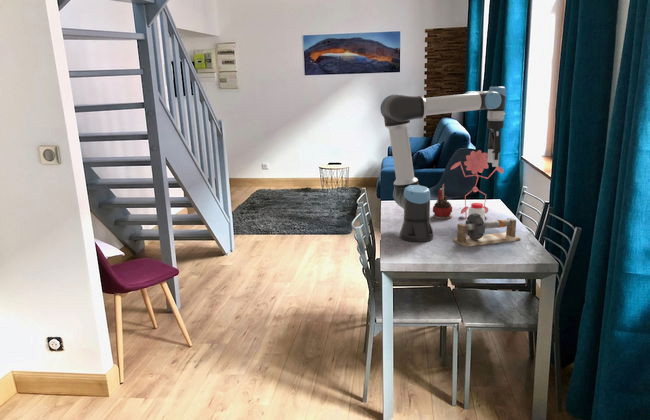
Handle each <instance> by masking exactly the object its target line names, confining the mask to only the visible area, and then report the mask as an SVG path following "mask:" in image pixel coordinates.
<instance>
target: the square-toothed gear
mask: <svg viewBox="0 0 650 420" xmlns="http://www.w3.org/2000/svg"><path fill="white" fill-rule="evenodd" d="M480 217H481V215H479V214H477V213H475V214H471V215H469V216H467V219H466V220H465V224H472V223H474V224H475V230H471V231H466V234H467V235H468V236H467V237H470V238H471V239H473V240H477V239H480V238H482V236H483V235H485V234H486V229H485V226H484V225H483V224H484V221H483V219H482V217H481V218H480Z"/></svg>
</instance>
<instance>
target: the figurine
mask: <svg viewBox="0 0 650 420" xmlns="http://www.w3.org/2000/svg"><path fill="white" fill-rule="evenodd" d="M487 157H488V152H482V150H480V149H478V150H477V151H474V150H472V151H471V152H470V154H469V155H468V154H467V155H465V159H466V161H463V165H464V166H465V167H466V168H465V170H466V171H471V174H470V175H466V173H465V171H464V168H463V165H462V161H458V162H455V163H454V164H453V165H452V166H451V167H450V171H451V170H452V171H453V170H454V169H456V168H457V167H459V166H460V168H461V171H462V174H463V177H464V178H468V177H473V176H475V177H477V178H476V182H475V185H474V187H472V189H471V190H470V191H469V192H468V193H467V194H465V195H464V207H459V208H457V209H456V211H458V210H459V209H461V210H460V214H461V215H463V214H464V213H465V216H464V217H465V219H466V220H467V217H468V216H467V215H468V214H467V211H468V210H469V208H470V206H467V199H466V196H468V195H470V194H471V193H472V192H473V193H477V192H479V193H481V194H483V195H485V198H484V203H483V208H484V209H485V214H487V213H488V212H489V208H488V207H487V206H486V199H487V194H486V193H484V192H482V191H480V189H478V187H477V183H478V181H479V178H483V179H486V180H488V179H489V178H490V177H491V176H492V175H493V174H494V173H495V172H496V171H497V172H498V173H500V174H503V173H505V170H504V168H502V166H499V165H498V167H495V169H494V170H493V171H492V172H491V173H490V174H489V175H488V177H486V176H483V175H480V174H481V173H482V174H483V171H484V170H485V169H487V170H488V169H489V164H488V163H487ZM478 173H480V174H478Z"/></svg>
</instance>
